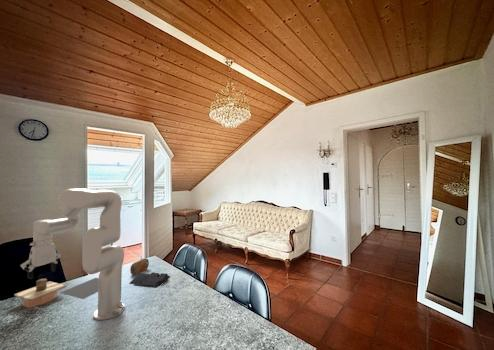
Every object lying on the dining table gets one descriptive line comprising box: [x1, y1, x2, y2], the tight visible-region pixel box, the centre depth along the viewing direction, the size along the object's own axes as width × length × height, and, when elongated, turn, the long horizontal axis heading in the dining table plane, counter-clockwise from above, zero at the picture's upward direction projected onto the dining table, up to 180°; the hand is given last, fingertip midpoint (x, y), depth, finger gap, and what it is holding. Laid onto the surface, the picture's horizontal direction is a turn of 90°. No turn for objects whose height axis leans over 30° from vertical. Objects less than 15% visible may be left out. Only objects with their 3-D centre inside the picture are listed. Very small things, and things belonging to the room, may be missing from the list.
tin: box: [129, 258, 150, 276], centre depth 147 cm, size 15×3×8 cm, turn 164°
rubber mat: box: [59, 277, 99, 300], centre depth 125 cm, size 20×20×1 cm
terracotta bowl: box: [22, 290, 58, 308], centre depth 112 cm, size 12×12×5 cm
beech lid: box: [13, 277, 67, 301], centre depth 112 cm, size 15×15×6 cm
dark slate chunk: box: [128, 272, 171, 289], centre depth 134 cm, size 15×22×5 cm
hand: (42, 274), depth 112 cm, fingers open, 9 cm apart
